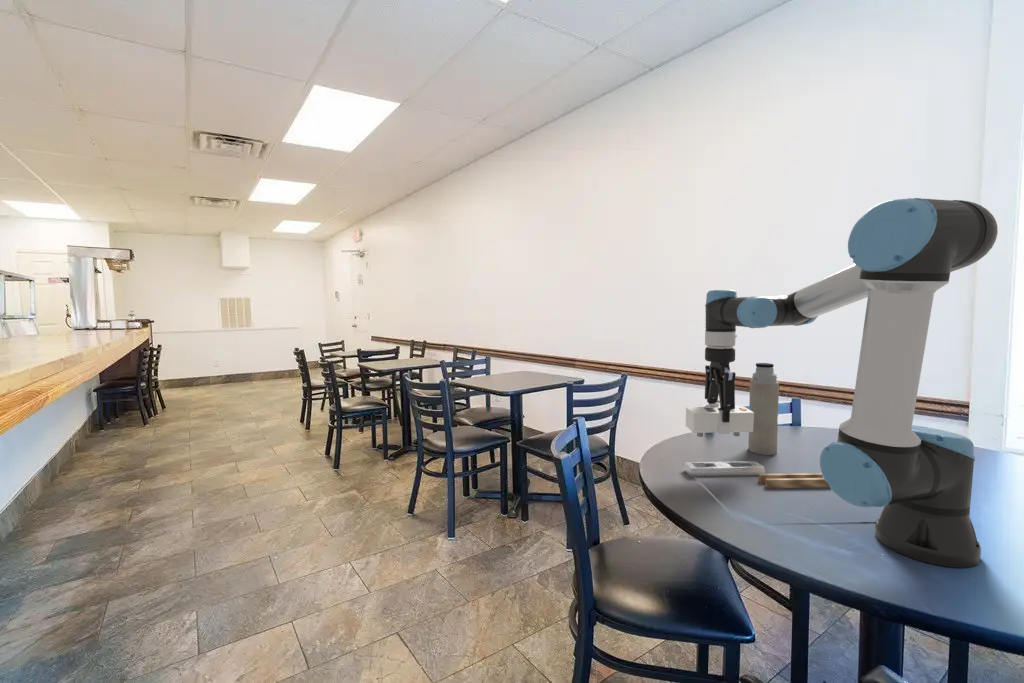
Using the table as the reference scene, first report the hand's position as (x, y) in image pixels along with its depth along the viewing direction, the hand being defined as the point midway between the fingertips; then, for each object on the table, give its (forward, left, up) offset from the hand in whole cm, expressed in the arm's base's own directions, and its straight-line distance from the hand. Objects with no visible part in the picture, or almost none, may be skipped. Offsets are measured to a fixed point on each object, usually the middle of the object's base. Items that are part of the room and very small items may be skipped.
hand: (718, 429), depth 126 cm
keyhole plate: (0, -2, -13) cm, 13 cm away
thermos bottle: (+18, -22, -13) cm, 31 cm away
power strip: (0, 0, -2) cm, 2 cm away
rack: (-9, -16, -13) cm, 22 cm away
